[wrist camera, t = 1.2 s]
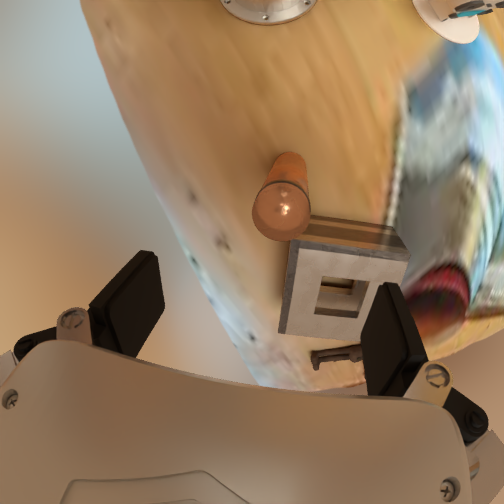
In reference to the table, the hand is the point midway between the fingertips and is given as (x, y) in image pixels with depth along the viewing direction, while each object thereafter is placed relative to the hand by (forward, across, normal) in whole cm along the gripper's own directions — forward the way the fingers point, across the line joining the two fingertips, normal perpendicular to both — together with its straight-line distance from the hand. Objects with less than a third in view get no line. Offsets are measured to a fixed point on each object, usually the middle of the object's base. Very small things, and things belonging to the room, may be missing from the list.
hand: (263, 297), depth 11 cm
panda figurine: (+26, -20, -28) cm, 43 cm away
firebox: (+26, -8, +13) cm, 30 cm away
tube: (+26, 0, 0) cm, 26 cm away
